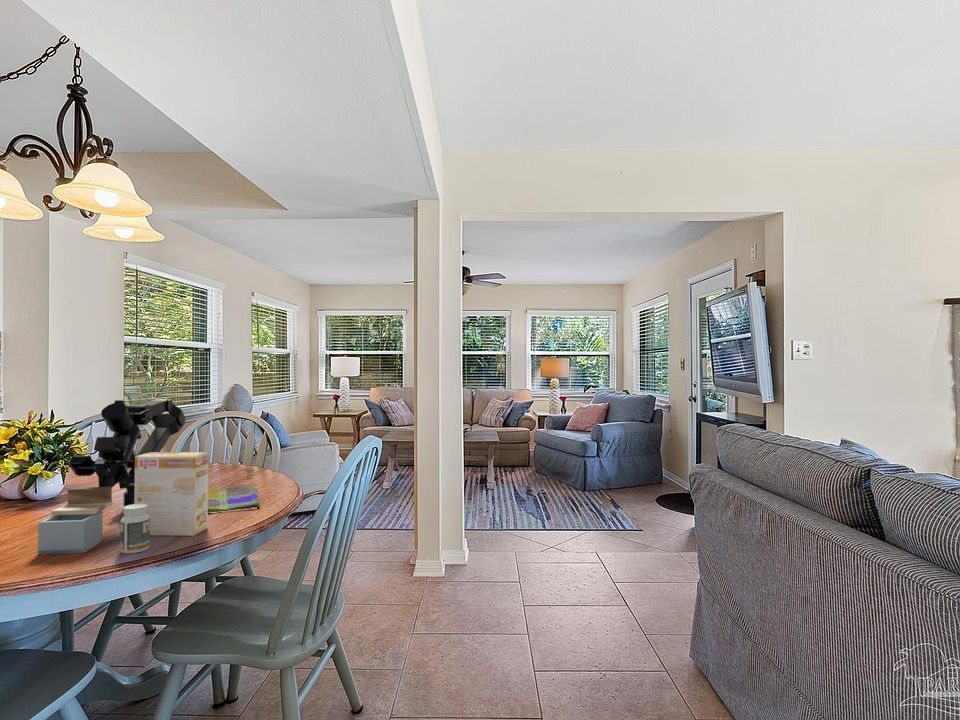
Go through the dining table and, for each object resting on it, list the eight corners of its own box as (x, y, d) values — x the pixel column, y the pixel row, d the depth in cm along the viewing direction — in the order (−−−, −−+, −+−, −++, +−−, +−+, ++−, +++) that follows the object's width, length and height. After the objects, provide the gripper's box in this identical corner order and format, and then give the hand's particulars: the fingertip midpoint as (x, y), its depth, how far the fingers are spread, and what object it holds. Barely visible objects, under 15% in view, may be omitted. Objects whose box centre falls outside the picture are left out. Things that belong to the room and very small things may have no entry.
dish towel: (192, 517, 150) (192, 507, 150) (198, 497, 172) (198, 488, 172) (260, 511, 157) (260, 501, 157) (258, 492, 179) (258, 484, 179)
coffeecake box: (208, 527, 139) (209, 451, 139) (193, 536, 132) (195, 456, 132) (150, 527, 139) (151, 451, 139) (132, 536, 132) (133, 455, 132)
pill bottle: (155, 545, 125) (155, 502, 125) (140, 554, 119) (141, 509, 120) (129, 545, 125) (130, 502, 125) (113, 554, 119) (114, 509, 119)
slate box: (59, 542, 127) (60, 512, 127) (102, 540, 128) (102, 511, 128) (37, 554, 119) (38, 522, 119) (83, 552, 120) (84, 520, 120)
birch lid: (71, 506, 131) (71, 487, 131) (112, 505, 133) (112, 486, 133) (51, 515, 123) (51, 495, 123) (94, 514, 125) (95, 494, 125)
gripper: (72, 424, 140) (45, 476, 129) (151, 424, 143) (131, 474, 132) (89, 450, 147) (64, 501, 137) (163, 449, 151) (145, 499, 140)
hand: (101, 493), depth 136 cm, fingers closed
